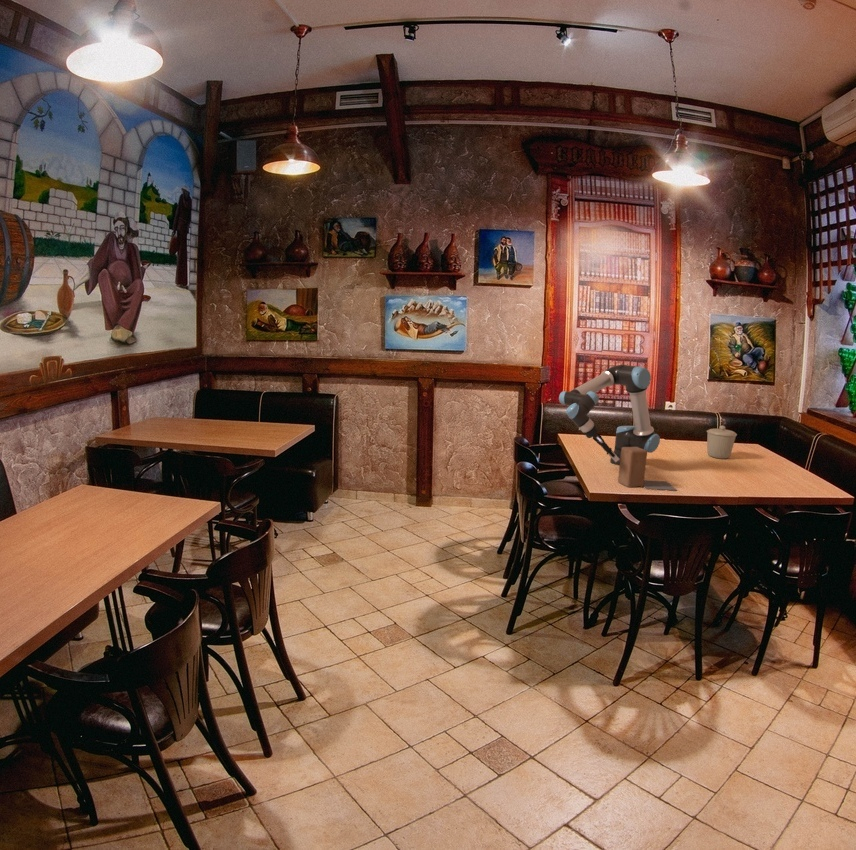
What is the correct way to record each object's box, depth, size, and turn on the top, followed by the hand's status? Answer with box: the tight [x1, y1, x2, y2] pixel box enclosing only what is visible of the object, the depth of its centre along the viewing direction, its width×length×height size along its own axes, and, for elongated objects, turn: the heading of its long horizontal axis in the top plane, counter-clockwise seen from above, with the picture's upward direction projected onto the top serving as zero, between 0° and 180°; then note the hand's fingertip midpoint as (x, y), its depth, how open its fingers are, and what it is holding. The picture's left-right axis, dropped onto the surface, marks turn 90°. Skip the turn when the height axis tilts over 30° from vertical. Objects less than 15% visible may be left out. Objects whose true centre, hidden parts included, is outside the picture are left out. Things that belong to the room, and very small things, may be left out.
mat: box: [642, 479, 678, 492], centre depth 326 cm, size 16×16×1 cm
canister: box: [706, 425, 738, 460], centre depth 397 cm, size 18×18×21 cm
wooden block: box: [617, 447, 648, 488], centre depth 324 cm, size 10×10×20 cm
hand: (617, 460), depth 324 cm, fingers closed
